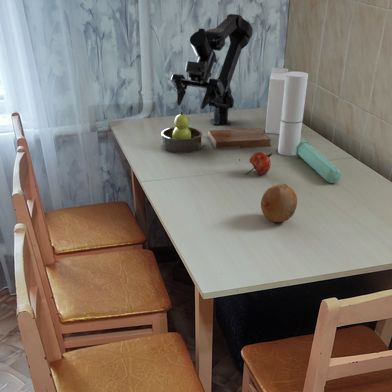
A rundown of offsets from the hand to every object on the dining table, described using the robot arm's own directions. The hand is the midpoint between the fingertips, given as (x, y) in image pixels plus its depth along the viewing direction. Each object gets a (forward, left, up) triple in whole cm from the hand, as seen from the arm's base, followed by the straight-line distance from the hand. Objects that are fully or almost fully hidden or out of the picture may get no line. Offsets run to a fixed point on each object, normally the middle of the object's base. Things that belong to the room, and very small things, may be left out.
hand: (189, 106), depth 190 cm
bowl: (+5, -4, -12) cm, 14 cm away
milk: (-7, +34, -12) cm, 37 cm away
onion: (+67, +12, -12) cm, 69 cm away
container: (+34, +36, -12) cm, 51 cm away
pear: (+5, -4, -12) cm, 13 cm away
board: (+2, +18, -12) cm, 22 cm away
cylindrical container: (+16, +32, -12) cm, 38 cm away
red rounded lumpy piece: (+34, +16, -12) cm, 40 cm away
